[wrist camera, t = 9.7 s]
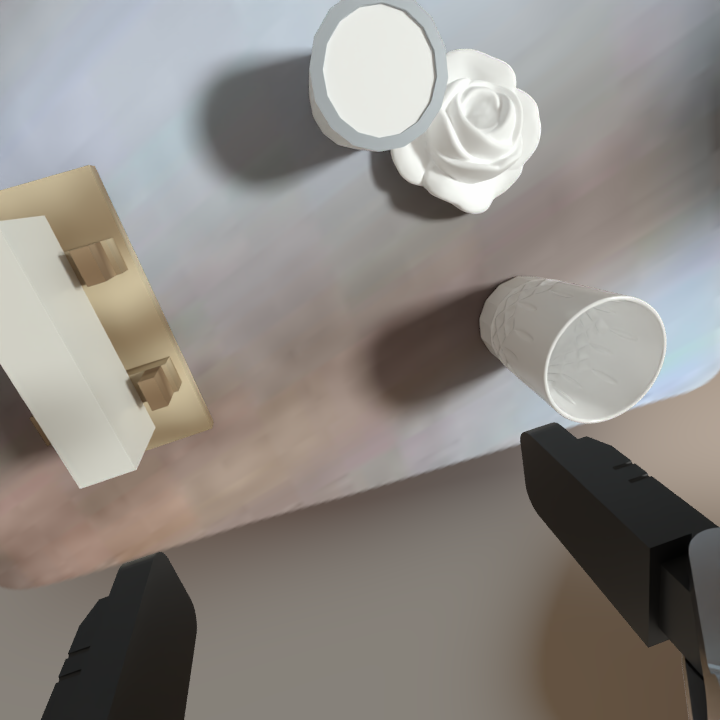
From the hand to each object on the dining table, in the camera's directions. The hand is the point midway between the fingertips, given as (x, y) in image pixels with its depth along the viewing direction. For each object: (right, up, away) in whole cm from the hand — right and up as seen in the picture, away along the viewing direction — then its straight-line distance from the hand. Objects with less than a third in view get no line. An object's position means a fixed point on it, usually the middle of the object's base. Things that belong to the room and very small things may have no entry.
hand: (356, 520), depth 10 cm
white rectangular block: (-17, +5, +18) cm, 25 cm away
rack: (-17, +6, +20) cm, 27 cm away
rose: (+6, +18, +21) cm, 29 cm away
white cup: (+12, +7, +26) cm, 30 cm away
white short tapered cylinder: (0, +20, +19) cm, 27 cm away
